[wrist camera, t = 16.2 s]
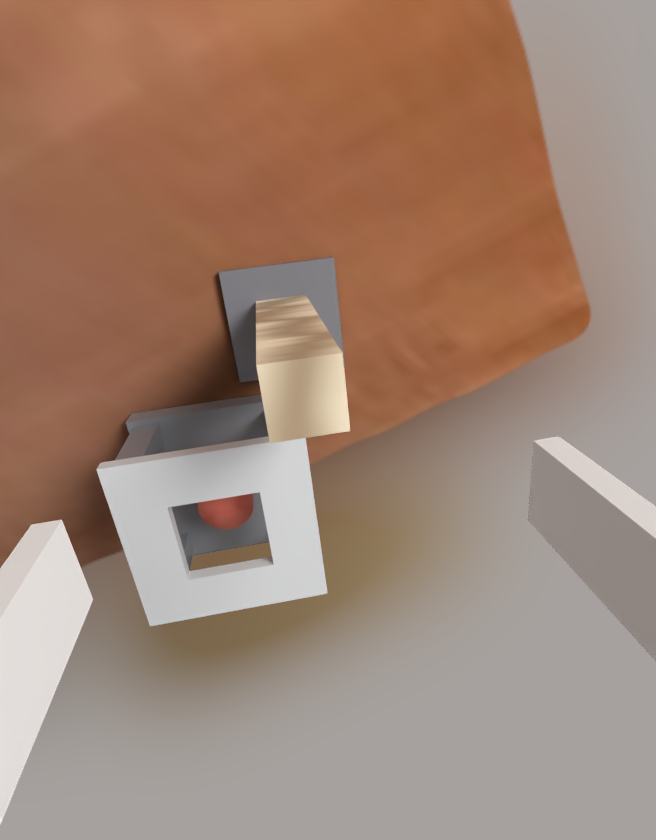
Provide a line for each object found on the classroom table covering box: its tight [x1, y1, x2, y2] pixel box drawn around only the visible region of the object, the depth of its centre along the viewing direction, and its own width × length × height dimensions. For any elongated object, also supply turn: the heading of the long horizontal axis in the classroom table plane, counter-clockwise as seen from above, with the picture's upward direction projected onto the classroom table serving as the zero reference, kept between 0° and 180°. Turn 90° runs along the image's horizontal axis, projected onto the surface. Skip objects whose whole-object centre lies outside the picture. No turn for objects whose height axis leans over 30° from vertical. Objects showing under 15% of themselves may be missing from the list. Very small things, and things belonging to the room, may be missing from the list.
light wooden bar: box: [256, 295, 350, 443], centre depth 31 cm, size 4×4×18 cm
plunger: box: [198, 493, 253, 530], centre depth 42 cm, size 4×4×5 cm
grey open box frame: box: [96, 394, 327, 626], centre depth 40 cm, size 14×14×10 cm
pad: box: [219, 257, 345, 383], centre depth 40 cm, size 9×9×1 cm
